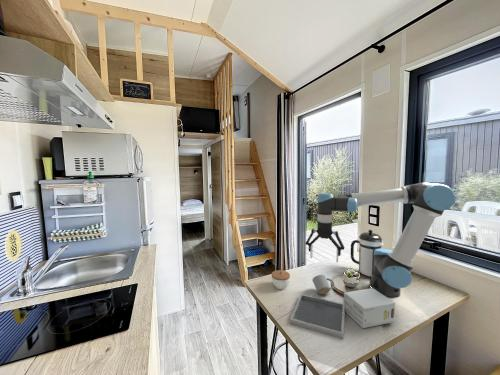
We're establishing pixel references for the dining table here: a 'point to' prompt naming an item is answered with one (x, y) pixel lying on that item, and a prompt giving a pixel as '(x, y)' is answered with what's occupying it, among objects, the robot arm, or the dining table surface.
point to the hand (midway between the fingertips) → (324, 259)
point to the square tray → (319, 315)
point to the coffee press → (366, 251)
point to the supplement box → (369, 307)
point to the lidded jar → (280, 279)
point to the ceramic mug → (322, 284)
